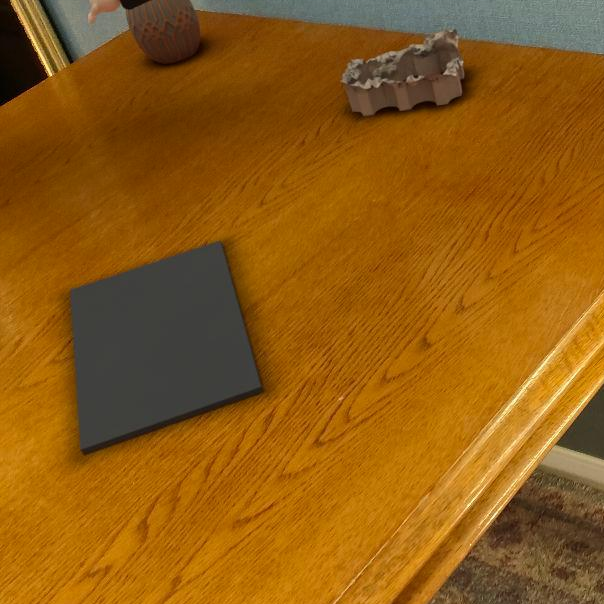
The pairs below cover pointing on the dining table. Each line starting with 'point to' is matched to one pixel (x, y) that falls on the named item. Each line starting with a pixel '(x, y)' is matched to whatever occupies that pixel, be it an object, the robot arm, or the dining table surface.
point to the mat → (159, 347)
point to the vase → (165, 29)
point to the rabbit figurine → (102, 8)
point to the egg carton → (407, 76)
